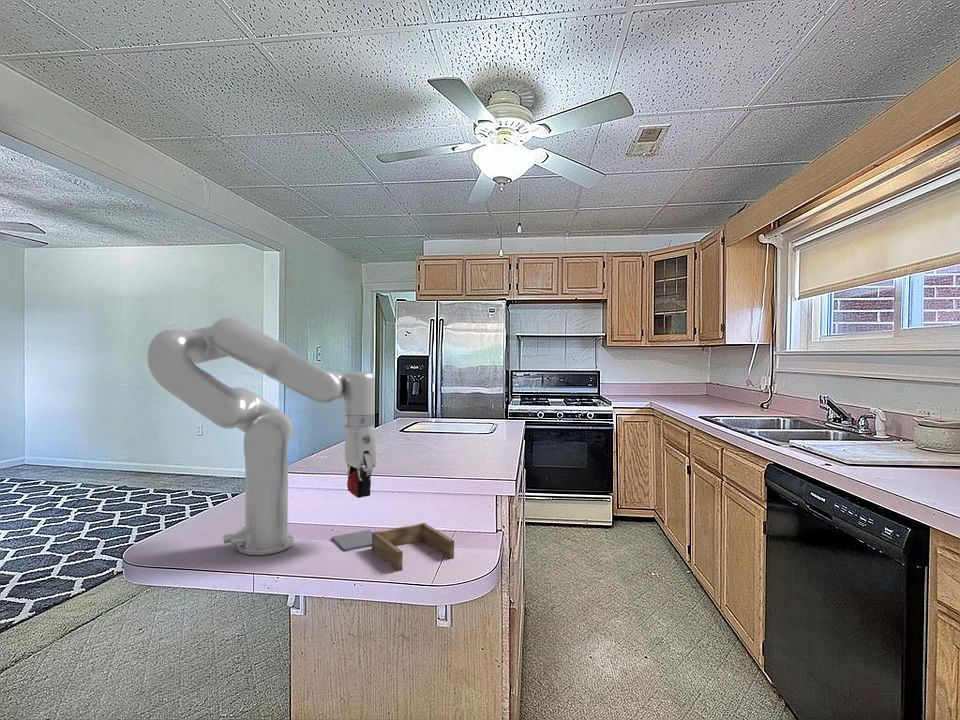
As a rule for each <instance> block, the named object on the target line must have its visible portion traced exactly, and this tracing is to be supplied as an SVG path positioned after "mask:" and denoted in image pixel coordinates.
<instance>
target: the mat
mask: <svg viewBox="0 0 960 720" xmlns="http://www.w3.org/2000/svg"><path fill="white" fill-rule="evenodd" d="M372 532H373V531H371V530H370V529H368V530H362V531H357V532H352V533H351V532H350V533H345V534H339V535H338V534H337V535H334V536H331V540H332V541H334V543H335V544H336V545H337V546H338V547H339V548H341V549H342V550H343V551H344V552H348V551H349V552H350V551H352V550H353V551H354V550H358V549H362V548H368V547H372Z"/></svg>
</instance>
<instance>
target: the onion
mask: <svg viewBox="0 0 960 720" xmlns="http://www.w3.org/2000/svg"><path fill="white" fill-rule="evenodd" d="M362 467H363V466H361V467H360V468H362ZM363 471H365V470H363ZM363 471H361V472H362V473H363ZM357 481H359V478H358V470H357V469H356V470H355V471H354V472H353V473H352V474H351V475H350V476H349V478H348V477H347V482H346V485H347V486H346V487H347V491H348V490H349V491H348V492H349V493H350V494H351V495H353V496H354V497H355V498H357V499H361V498H362V497H357ZM371 486H372V479H371V480H370V488H371Z"/></svg>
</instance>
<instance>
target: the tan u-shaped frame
mask: <svg viewBox="0 0 960 720" xmlns="http://www.w3.org/2000/svg"><path fill="white" fill-rule="evenodd" d="M371 532H372V546H371V550H372V551H374V553H376V554H377V553H378V554H379V555H378V554H377V555H378V556H379V557H381V558H382V557H383V558H384V559H385V560H384V559H383V558H382V559H383V560H384V561H385V562H387V563H388V562H389V563H390V564H391V567H393V568H394V569H395V570H396V571H397V572H400V571H403V559H404V558H403V554H404V553H403V550H401V549H400V548H399V547H398V546H401V545H402V544H403V545H406V544H411V543H417V542H420V541H421V542H423V543H424V542H426V543H425V544H427V545H428V544H429V546H430V547H432V548H433V547H434V548H433V549H435V550H436V551H437V552H439V551H440V552H439V553H441V554H442V555H443V556H446V558H448V557H449V558H448V559H454V558H455V540H454V539H452V538H451V537H448V535H446V534H444V533H442V532H440V531H438V530H437V529H436V528H434V527H432V526H431V525H428V524H427V523H425V522H422V523H416V524H411V525H406V526H400V527H395V528H389V529H384V530H383V529H382V530H378V531H371ZM422 540H423V541H422ZM397 545H398V546H397ZM389 563H388V564H389ZM390 564H389V565H390Z"/></svg>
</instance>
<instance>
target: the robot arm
mask: <svg viewBox="0 0 960 720" xmlns="http://www.w3.org/2000/svg"><path fill="white" fill-rule="evenodd" d="M227 357H230V358H232V359H234V360H236V361H237V362H238V361H239V362H241V363H242V364H244V365H246V366H248V367H250V368H251V369H253V370H255V371H256V372H257V371H258V372H260V373H261V374H263V375H265V376H266V377H268V378H269V379H272V380H274V381H276V382H278V383H279V384H282V385H283V386H285V387H287V388H288V389H290V390H292V391H293V392H295V393H297V394H300V395H302V396H304V397H306V398H308V399H310V400H311V401H313V402H316V403H318V404H323V405H324V404H330V403H333V402H335V401H336V400H343V428H344V429H345V442H344V458H345V459H344V460H345V463H346V464H347V479H348V478H349V476H350V475H351V474H352V473H353V472H354V471H355V470H356V469H357V470H358V478H359V481H357V497H361V498H364V497H370V496H371V487H370V480H371V481H372V476H371V475H372V473H373V471H374V468H375V467H377V450H376V437H375V436H376V435H375V430H374V428H375V416H376V415H375V407H376V405H375V404H376V403H375V396H376V395H375V394H376V393H375V391H376V390H375V376H374V374H373V373H372V372H368V371H366V372H365V371H352V372H351V371H350V372H338V371H331V370H326V369H323V368H321V367H320V366H317V365H316V364H315V363H312V362H310V361H308V360H306V359H304V358H303V357H301V356H299V355H298V354H297V353H295V352H294V351H293V350H292V349H291V348H290V347H289V346H287V345H286V344H285V343H284V342H283V343H282V342H281V341H279V340H277V339H275V338H274V337H273V338H272V337H271V336H269V335H267V334H265V333H263V332H261V331H259V330H257V329H255V328H254V327H252V326H251V325H250V324H248V323H247V322H246V321H243V320H240V319H237V318H232V317H224V318H220V319H218V320H216V321H215V322H214V323H213V324H212V325H211V326H206V327H202V328H198V329H197V328H196V329H192V330H186V329H179V328H170V329H165V330H162V331H160V332H159V333H157V334H156V335H154V337H153V338H152V339H151V341H150V343H149V344H148V348H147V357H146V358H147V365H148V369H149V371H150V374H151V375H152V377H153V378H154V380H155V381H156V382H157V383H158V384H159V385H160V386H161V387H162V388H163V389H164V390H166V392H168V393H169V394H171V395H172V396H174V397H175V398H176V399H178V400H179V401H182V402H183V403H184V404H186V405H187V406H188V407H189V408H191V409H193V410H194V411H195V412H198V414H200V415H202V416H203V417H205V418H206V419H208V420H209V421H211V422H212V424H215V425H216V426H218V427H219V428H223V429H230V430H231V429H235V428H237V429H238V430H240V431H242V432H243V433H244V435H243V453H244V466H245V470H244V471H245V472H244V474H245V476H244V477H245V479H244V480H245V481H244V482H245V484H244V485H245V493H244V496H245V498H244V500H245V504H244V506H245V507H244V509H245V510H244V513H245V514H244V516H245V517H244V518H245V519H244V527H241V531H237V533H234V534H233V533H230V534H224V535H222V542H223V543H222V544H230V546H234V545H237V551H238V550H239V551H240V553H241V554H244V555H250V556H264V555H271V554H276V553H280V552H282V551H286V550H288V549H289V548H291V547H292V546H294V544H295V538H294V536H293V535H292V534H289V533H288V521H289V520H288V519H289V518H288V517H289V516H288V515H289V514H288V510H289V509H288V505H289V504H288V501H289V497H288V496H289V492H288V491H289V477H288V476H289V468H288V467H289V465H288V464H289V463H288V461H289V460H288V443H289V442H290V441H291V440H292V437H293V435H294V424H293V422H292V420H291V418H290V417H289V416H288V415H286V413H284V412H282V411H281V410H280V409H279V408H277V407H275V406H274V405H272V404H271V403H270V402H268V401H267V400H265V399H264V398H262V396H261V397H260V395H258V394H256V393H254V392H253V391H251V390H249V389H247V388H243V387H238V386H237V387H230V386H228V385H227V384H225V383H223V382H222V381H221V380H219V379H217V377H215V376H213V375H212V374H210V373H209V372H208V371H206V370H204V369H202V368H201V367H199V366H197V364H201V363H205V362H210V361H214V360H219V359H223V358H227ZM361 466H362V468H360V467H361ZM363 466H364V467H363ZM363 470H364V471H363ZM361 471H363V473H362V472H361ZM347 491H348V492H350V491H349V490H348V489H347ZM357 497H356V498H357ZM239 551H238V552H239Z"/></svg>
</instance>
